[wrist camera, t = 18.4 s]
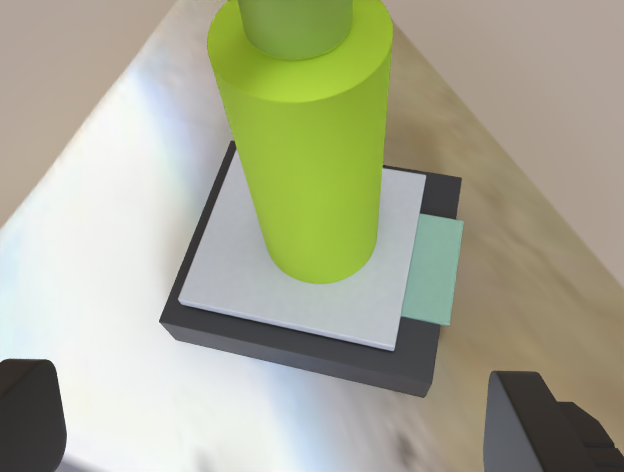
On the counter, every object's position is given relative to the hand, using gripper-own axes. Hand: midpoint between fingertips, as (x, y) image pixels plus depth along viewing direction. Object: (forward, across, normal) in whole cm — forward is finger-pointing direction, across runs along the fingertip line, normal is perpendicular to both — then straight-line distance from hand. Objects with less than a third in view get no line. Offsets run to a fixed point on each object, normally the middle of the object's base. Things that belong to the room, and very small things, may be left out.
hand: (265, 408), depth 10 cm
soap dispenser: (+19, 0, +2) cm, 19 cm away
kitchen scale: (+22, 0, +5) cm, 22 cm away
